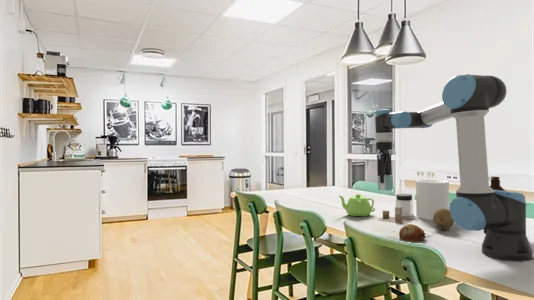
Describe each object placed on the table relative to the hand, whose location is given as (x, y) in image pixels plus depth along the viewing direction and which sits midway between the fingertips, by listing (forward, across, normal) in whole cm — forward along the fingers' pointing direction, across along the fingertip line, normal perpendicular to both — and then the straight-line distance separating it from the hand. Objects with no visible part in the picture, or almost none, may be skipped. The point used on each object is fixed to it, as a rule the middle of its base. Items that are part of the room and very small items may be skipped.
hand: (385, 188), depth 169 cm
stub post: (+18, +16, +6) cm, 25 cm away
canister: (+19, +30, -14) cm, 39 cm away
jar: (+19, +28, 0) cm, 34 cm away
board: (+19, +13, 0) cm, 23 cm away
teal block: (0, 0, 0) cm, 0 cm away
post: (+18, +12, -2) cm, 22 cm away
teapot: (+19, +15, +22) cm, 33 cm away
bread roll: (+19, -14, -16) cm, 29 cm away
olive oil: (+19, +13, -44) cm, 50 cm away
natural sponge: (+19, +8, -24) cm, 32 cm away
